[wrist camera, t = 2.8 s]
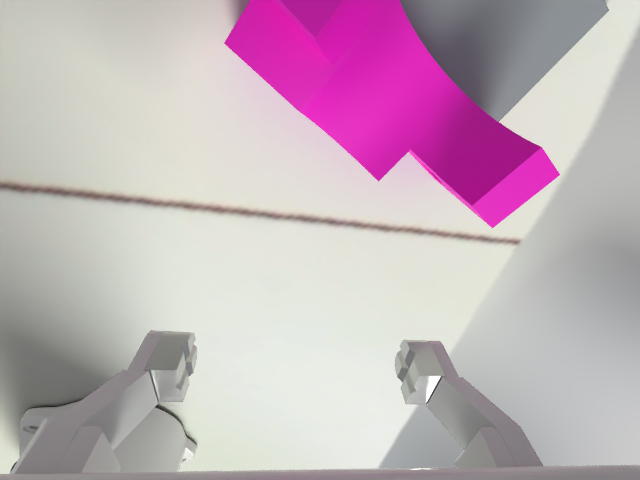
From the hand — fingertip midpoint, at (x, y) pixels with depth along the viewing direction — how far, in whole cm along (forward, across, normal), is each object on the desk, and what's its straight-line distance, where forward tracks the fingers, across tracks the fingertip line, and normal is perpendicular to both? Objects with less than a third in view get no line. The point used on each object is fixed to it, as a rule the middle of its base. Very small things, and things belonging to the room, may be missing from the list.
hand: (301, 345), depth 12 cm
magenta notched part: (+13, -4, -8) cm, 15 cm away
